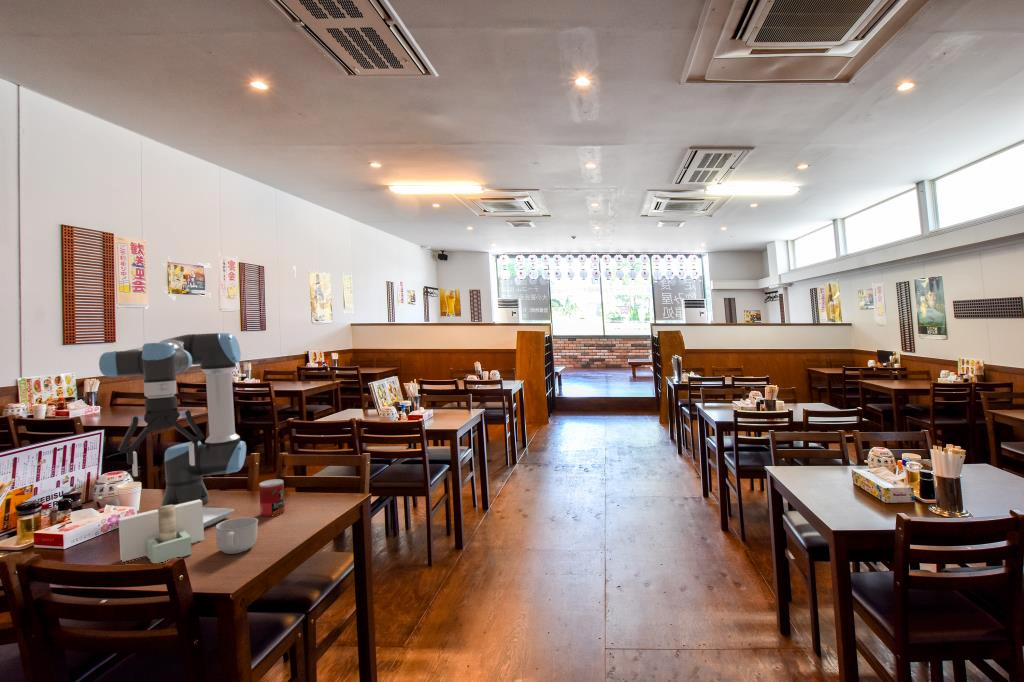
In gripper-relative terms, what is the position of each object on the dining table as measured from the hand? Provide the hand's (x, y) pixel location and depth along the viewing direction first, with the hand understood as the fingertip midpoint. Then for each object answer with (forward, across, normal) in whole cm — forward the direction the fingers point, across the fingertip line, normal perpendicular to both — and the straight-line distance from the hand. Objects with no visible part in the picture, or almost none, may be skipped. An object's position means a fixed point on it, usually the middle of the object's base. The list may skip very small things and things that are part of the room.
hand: (164, 470), depth 142 cm
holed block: (+25, 0, -1) cm, 25 cm away
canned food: (+25, +33, +12) cm, 43 cm away
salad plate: (+25, +9, +23) cm, 35 cm away
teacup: (+25, +14, -13) cm, 31 cm away
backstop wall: (+25, 0, +6) cm, 25 cm away
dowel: (+25, 0, 0) cm, 25 cm away
